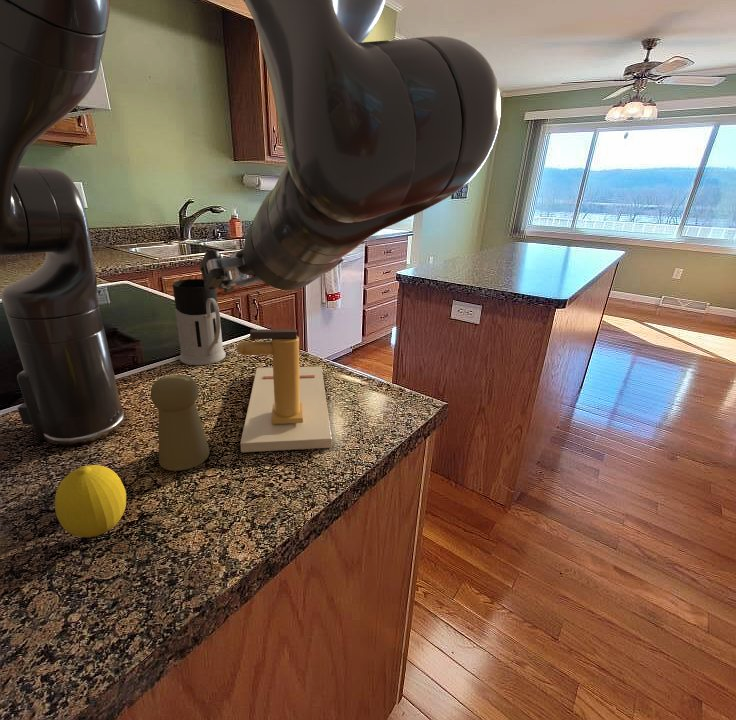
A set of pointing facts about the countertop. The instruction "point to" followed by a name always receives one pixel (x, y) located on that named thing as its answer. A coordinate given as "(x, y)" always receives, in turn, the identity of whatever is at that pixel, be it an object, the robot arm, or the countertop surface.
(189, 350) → the glass holder
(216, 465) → the countertop surface
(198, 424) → the cork
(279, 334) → the tap
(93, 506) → the lemon
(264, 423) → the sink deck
